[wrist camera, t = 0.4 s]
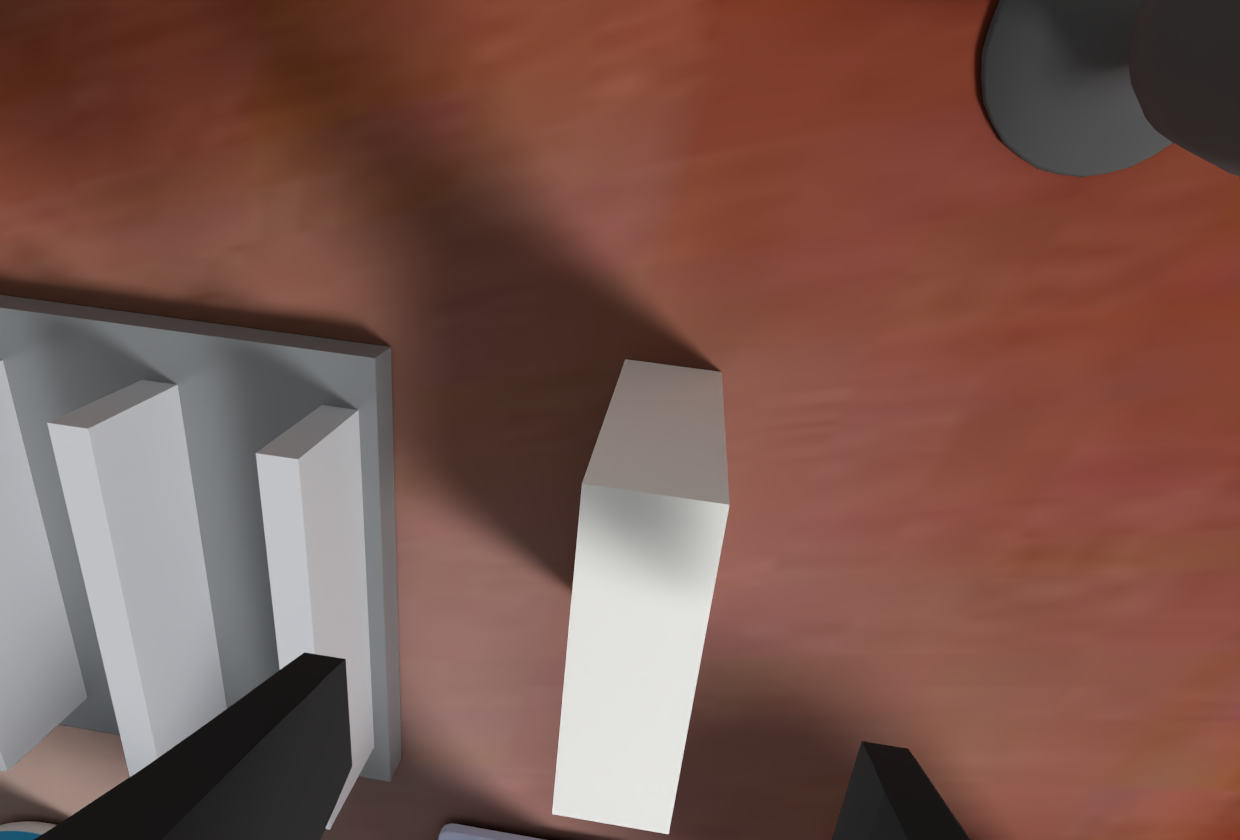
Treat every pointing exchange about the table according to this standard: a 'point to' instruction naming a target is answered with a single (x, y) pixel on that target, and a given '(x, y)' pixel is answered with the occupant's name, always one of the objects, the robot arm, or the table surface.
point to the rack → (190, 526)
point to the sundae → (1114, 81)
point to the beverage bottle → (24, 830)
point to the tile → (641, 595)
